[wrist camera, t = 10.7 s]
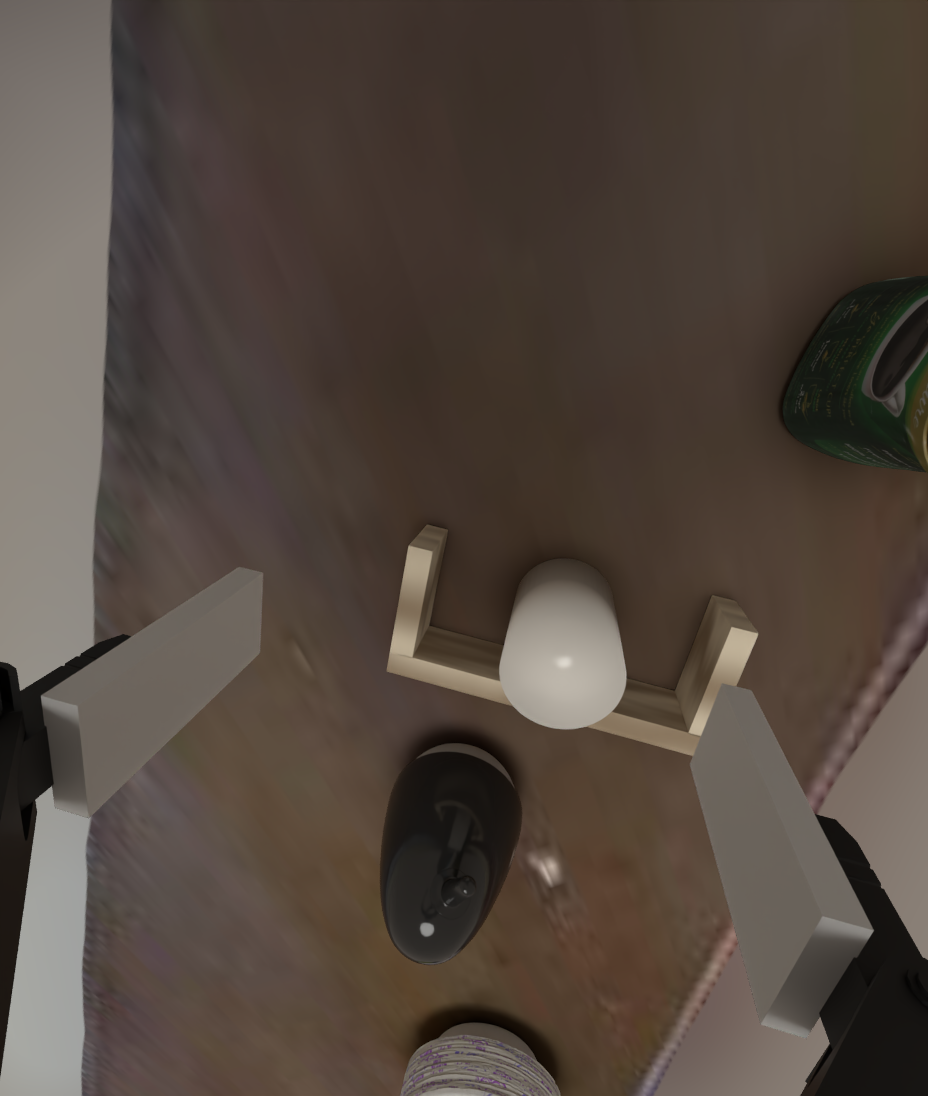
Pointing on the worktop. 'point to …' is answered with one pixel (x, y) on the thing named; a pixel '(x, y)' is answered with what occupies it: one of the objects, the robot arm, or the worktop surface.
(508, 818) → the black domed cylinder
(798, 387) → the coffee jar
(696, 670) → the rest cradle
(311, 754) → the worktop surface
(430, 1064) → the paper bowls
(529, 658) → the white domed cylinder
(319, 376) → the worktop surface
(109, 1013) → the worktop surface
